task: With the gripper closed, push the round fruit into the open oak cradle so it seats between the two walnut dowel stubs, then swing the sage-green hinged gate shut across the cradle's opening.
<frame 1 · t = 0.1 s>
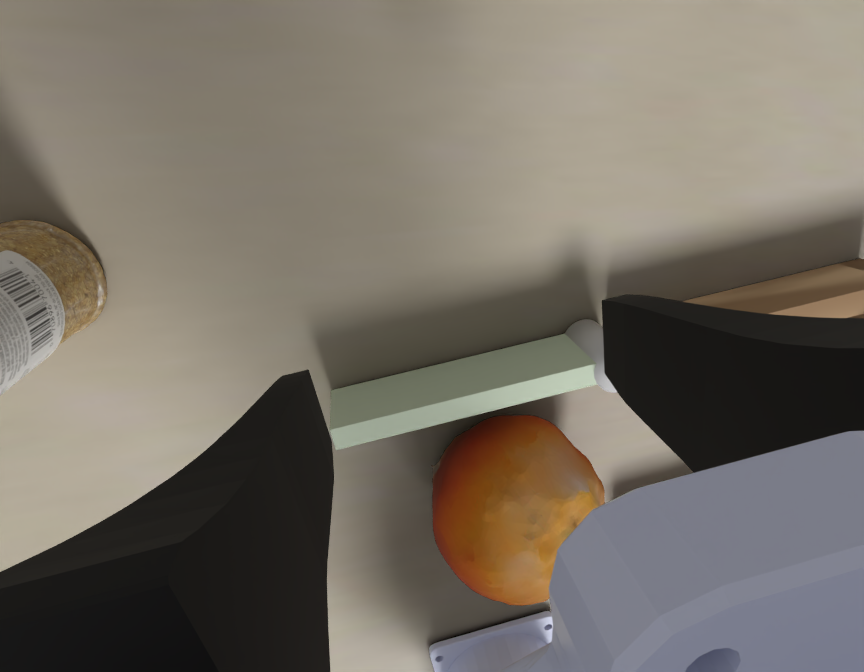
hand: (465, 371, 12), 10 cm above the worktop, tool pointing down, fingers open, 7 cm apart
cradle: (726, 403, 27), on the worktop
sprinkles bottle: (48, 277, 19), on the worktop
gate: (480, 383, 22), point 2 cm above the worktop, hinge at 0.0°
fruit: (495, 460, 26), on the worktop
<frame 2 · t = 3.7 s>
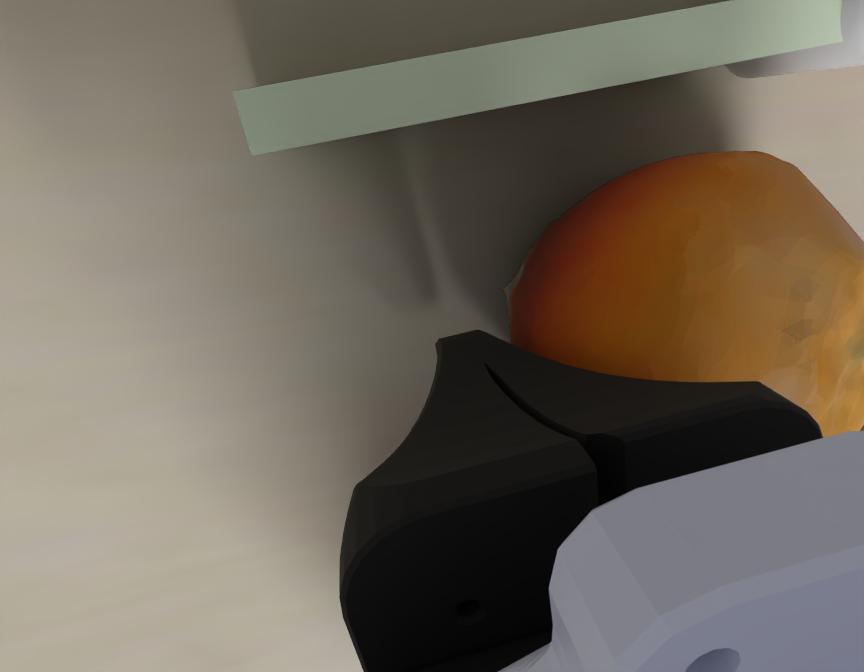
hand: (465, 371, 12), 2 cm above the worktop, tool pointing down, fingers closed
gate: (574, 64, 10), point 2 cm above the worktop, hinge at 0.0°
fruit: (608, 292, 15), on the worktop, touching gripper
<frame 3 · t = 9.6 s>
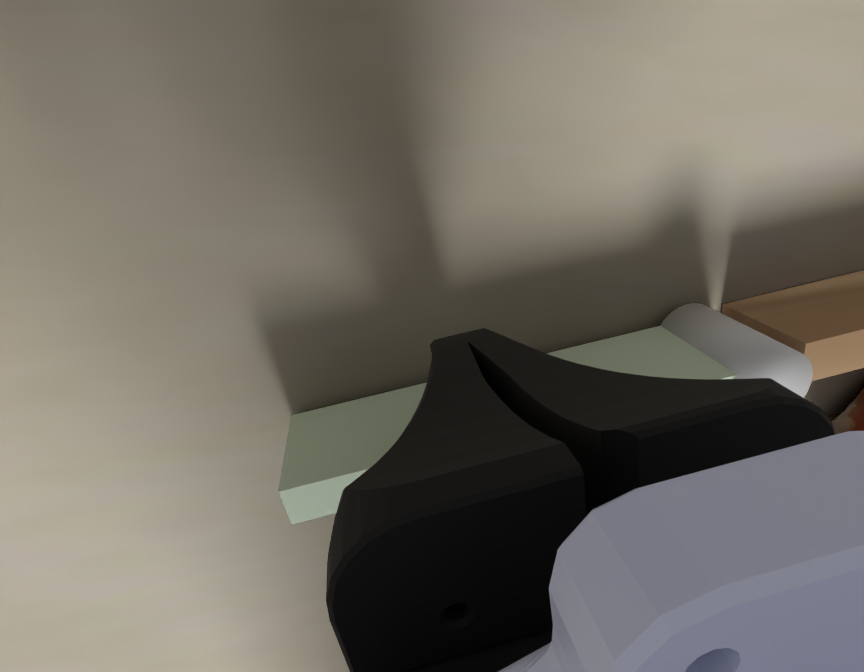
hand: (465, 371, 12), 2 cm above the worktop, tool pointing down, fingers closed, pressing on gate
gate: (534, 405, 13), point 2 cm above the worktop, hinge at 0.0°, touching gripper
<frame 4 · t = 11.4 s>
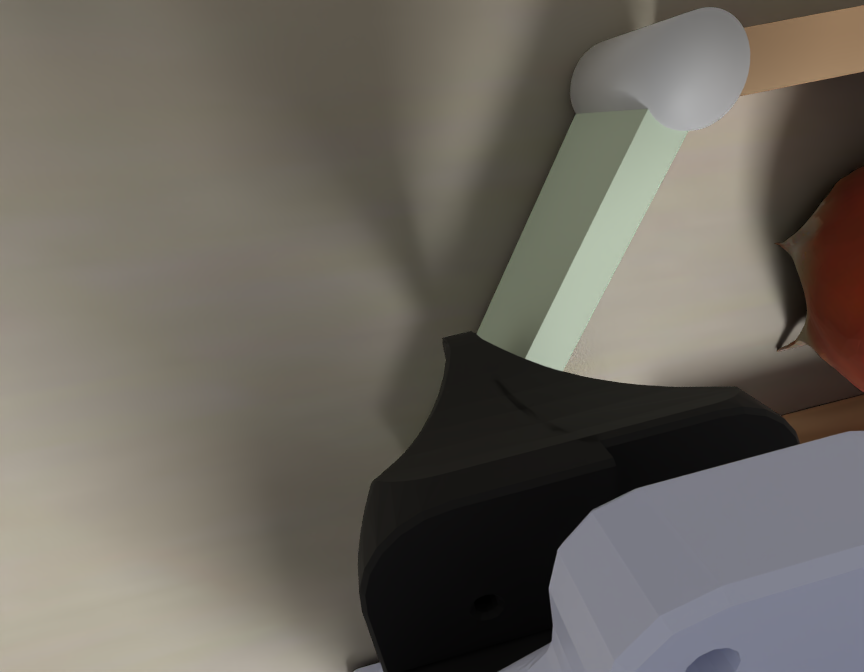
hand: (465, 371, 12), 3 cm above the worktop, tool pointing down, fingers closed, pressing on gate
cradle: (852, 255, 15), on the worktop
gate: (536, 310, 12), point 2 cm above the worktop, hinge at 58.0°, touching gripper
fruit: (858, 249, 16), on the worktop
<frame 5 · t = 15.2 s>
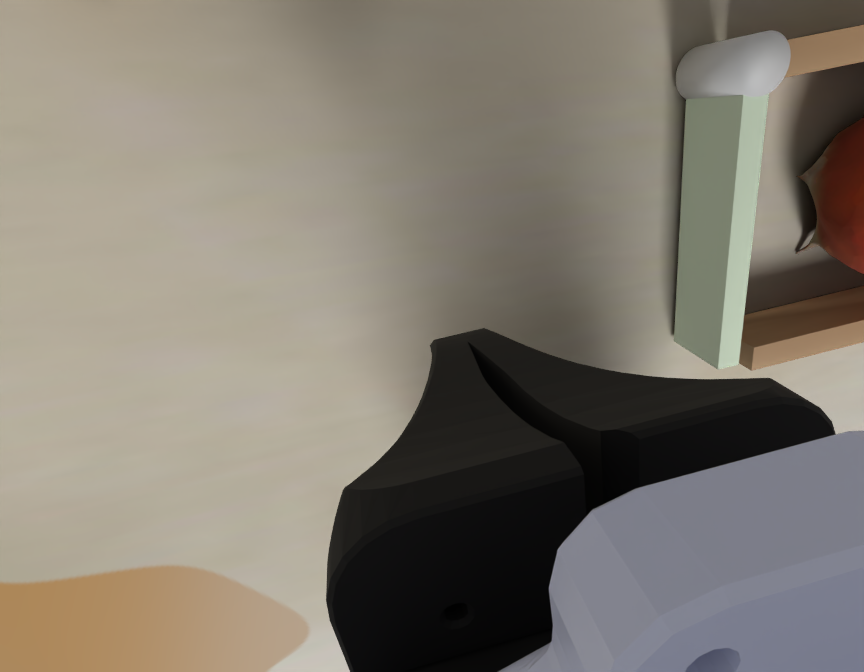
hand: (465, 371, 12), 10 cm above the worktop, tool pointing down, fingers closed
cradle: (846, 186, 23), on the worktop
gate: (716, 216, 21), point 2 cm above the worktop, hinge at 88.9°
fruit: (850, 183, 24), on the worktop
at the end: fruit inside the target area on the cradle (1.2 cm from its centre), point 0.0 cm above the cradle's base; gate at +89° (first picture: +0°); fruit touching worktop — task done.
